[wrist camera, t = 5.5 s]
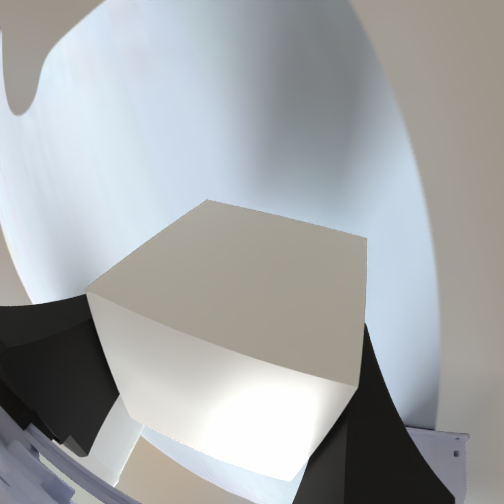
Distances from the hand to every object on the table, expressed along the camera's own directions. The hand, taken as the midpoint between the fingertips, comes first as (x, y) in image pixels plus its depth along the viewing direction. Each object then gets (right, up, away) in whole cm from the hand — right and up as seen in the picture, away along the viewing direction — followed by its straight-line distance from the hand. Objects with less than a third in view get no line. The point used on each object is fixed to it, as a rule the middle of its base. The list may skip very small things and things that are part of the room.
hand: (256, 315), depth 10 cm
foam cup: (-15, -16, +23) cm, 32 cm away
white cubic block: (+1, +1, +2) cm, 2 cm away
